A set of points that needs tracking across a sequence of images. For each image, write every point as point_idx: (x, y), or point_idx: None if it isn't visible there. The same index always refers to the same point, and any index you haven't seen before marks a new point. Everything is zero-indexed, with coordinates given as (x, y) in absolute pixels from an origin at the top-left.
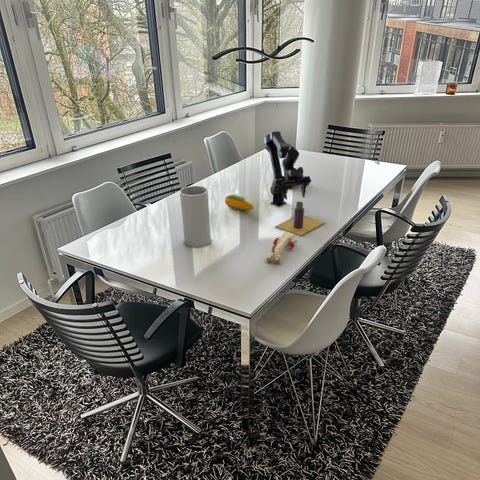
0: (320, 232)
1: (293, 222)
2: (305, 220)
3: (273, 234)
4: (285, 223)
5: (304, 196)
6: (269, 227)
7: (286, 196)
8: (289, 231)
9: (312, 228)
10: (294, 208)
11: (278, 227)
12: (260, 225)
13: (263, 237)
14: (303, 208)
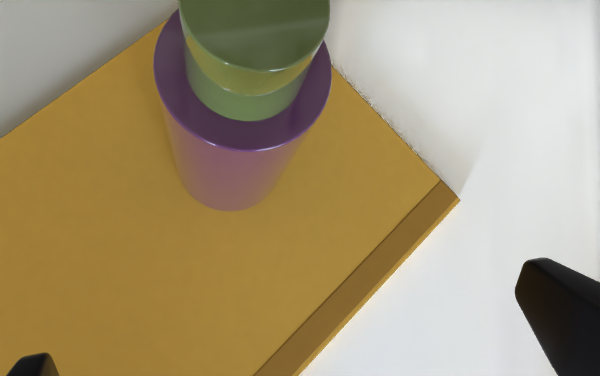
0: (15, 5)
1: (263, 281)
2: (101, 329)
3: (480, 50)
4: (356, 263)
5: (23, 358)
6: (512, 204)
7: (574, 288)
8: (336, 71)
9: (79, 90)
10: (329, 90)
11: (434, 173)
12: (594, 263)
13: (559, 12)
14: (165, 58)
